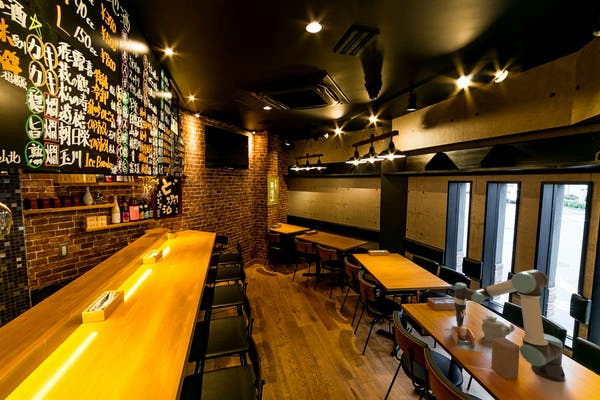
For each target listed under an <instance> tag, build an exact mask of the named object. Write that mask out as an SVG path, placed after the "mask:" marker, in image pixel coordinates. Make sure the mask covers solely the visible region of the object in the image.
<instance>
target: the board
mask: <svg viewBox="0 0 600 400" xmlns="http://www.w3.org/2000/svg"><path fill="white" fill-rule="evenodd" d="M451 329H452V327H446V330H447V332H448V334H449V336H450V338H451V340H452V342H453V344H454V346H455V348H456V349H458V350H464V351H465V350H466V351H472V352H476V353H477V352H478V353H483V351H482V349H481V348H480V346H479V345H478V343H477V341H476V340H475V347H473V345H472V344H471V345H468V344H461V343H457V344H456V343H455V341H454V339H453V337H452V335H451ZM468 339H469V338H468ZM459 340H460V338H459ZM466 341H467V340H466Z"/></svg>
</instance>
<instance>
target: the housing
mask: <svg viewBox="0 0 600 400" xmlns="http://www.w3.org/2000/svg"><path fill="white" fill-rule="evenodd" d="M451 328H452V329H451V335H452V337H453V339H454V341H455V343H456V344H457V343H458V335H460V327H457V326H455V325H451ZM466 336H467V337H468V338H469V340H470V342H471V344H472V345H473V347H475V341H476V337H475V335H474V333H473V332H472V330H471V328H469V327H466Z"/></svg>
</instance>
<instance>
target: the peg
mask: <svg viewBox="0 0 600 400" xmlns="http://www.w3.org/2000/svg"><path fill="white" fill-rule="evenodd" d="M466 328H467V327H466V326H464V325H463V326H460V340H464V341H466Z"/></svg>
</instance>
